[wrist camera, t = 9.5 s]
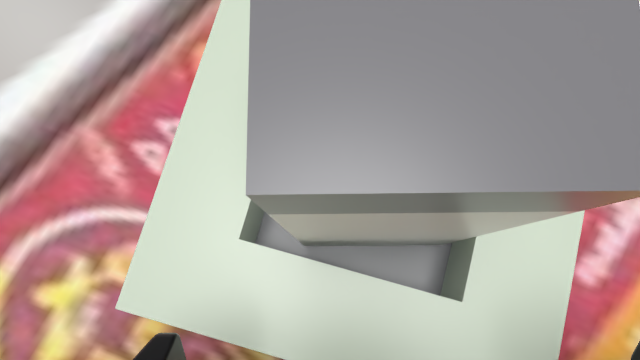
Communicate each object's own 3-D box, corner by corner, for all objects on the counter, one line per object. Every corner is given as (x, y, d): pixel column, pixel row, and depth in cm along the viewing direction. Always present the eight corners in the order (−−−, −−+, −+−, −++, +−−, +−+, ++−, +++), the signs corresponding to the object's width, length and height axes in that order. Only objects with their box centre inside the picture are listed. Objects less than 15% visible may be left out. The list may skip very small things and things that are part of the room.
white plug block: (440, 245, 17) (666, 190, 6) (304, 246, 18) (245, 194, 6) (433, 114, 18) (613, -166, 7) (304, 116, 18) (254, -156, 7)
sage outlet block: (496, 399, 17) (544, 437, 13) (162, 300, 18) (115, 308, 14) (560, 75, 20) (617, 26, 16) (259, 3, 21) (242, -61, 17)
